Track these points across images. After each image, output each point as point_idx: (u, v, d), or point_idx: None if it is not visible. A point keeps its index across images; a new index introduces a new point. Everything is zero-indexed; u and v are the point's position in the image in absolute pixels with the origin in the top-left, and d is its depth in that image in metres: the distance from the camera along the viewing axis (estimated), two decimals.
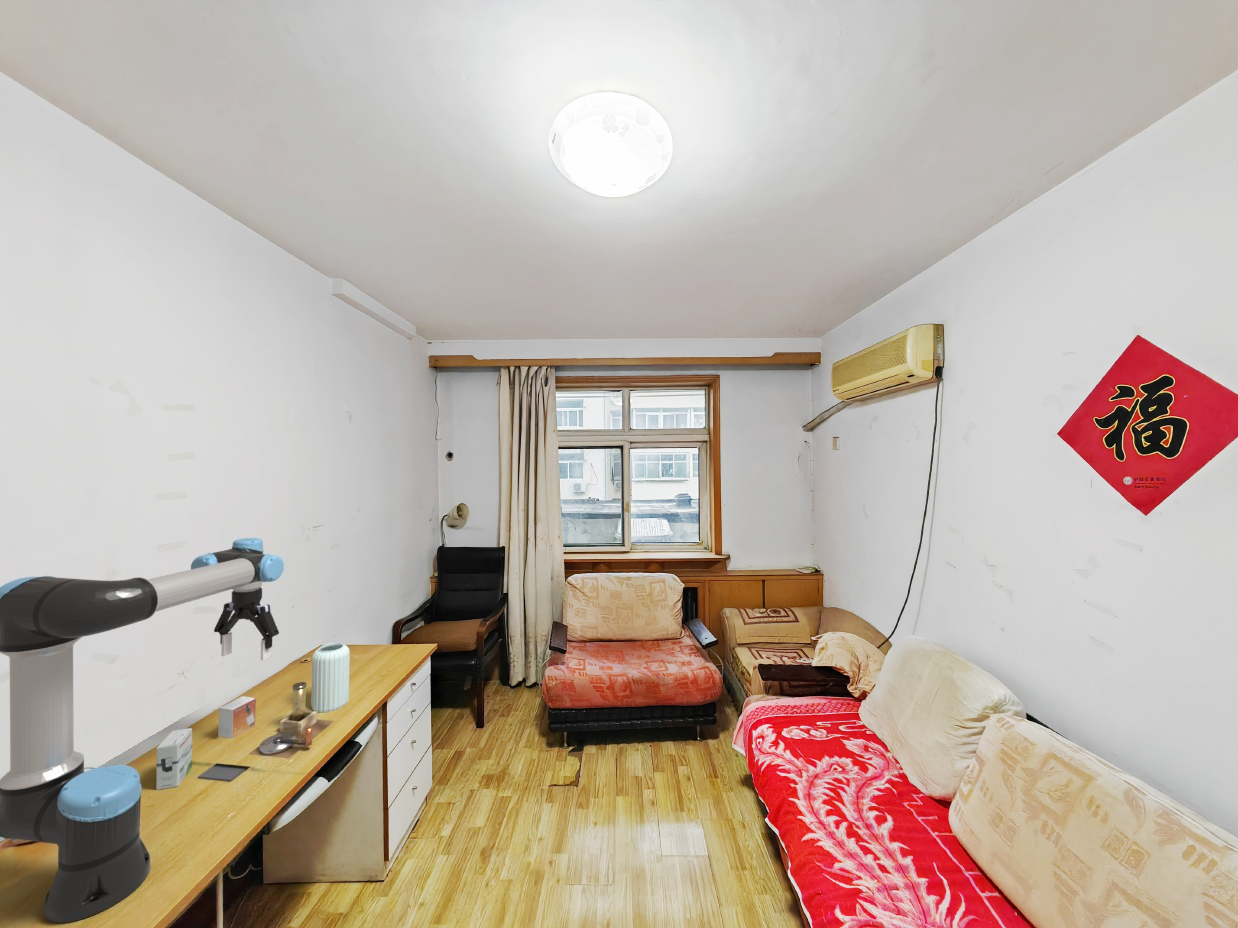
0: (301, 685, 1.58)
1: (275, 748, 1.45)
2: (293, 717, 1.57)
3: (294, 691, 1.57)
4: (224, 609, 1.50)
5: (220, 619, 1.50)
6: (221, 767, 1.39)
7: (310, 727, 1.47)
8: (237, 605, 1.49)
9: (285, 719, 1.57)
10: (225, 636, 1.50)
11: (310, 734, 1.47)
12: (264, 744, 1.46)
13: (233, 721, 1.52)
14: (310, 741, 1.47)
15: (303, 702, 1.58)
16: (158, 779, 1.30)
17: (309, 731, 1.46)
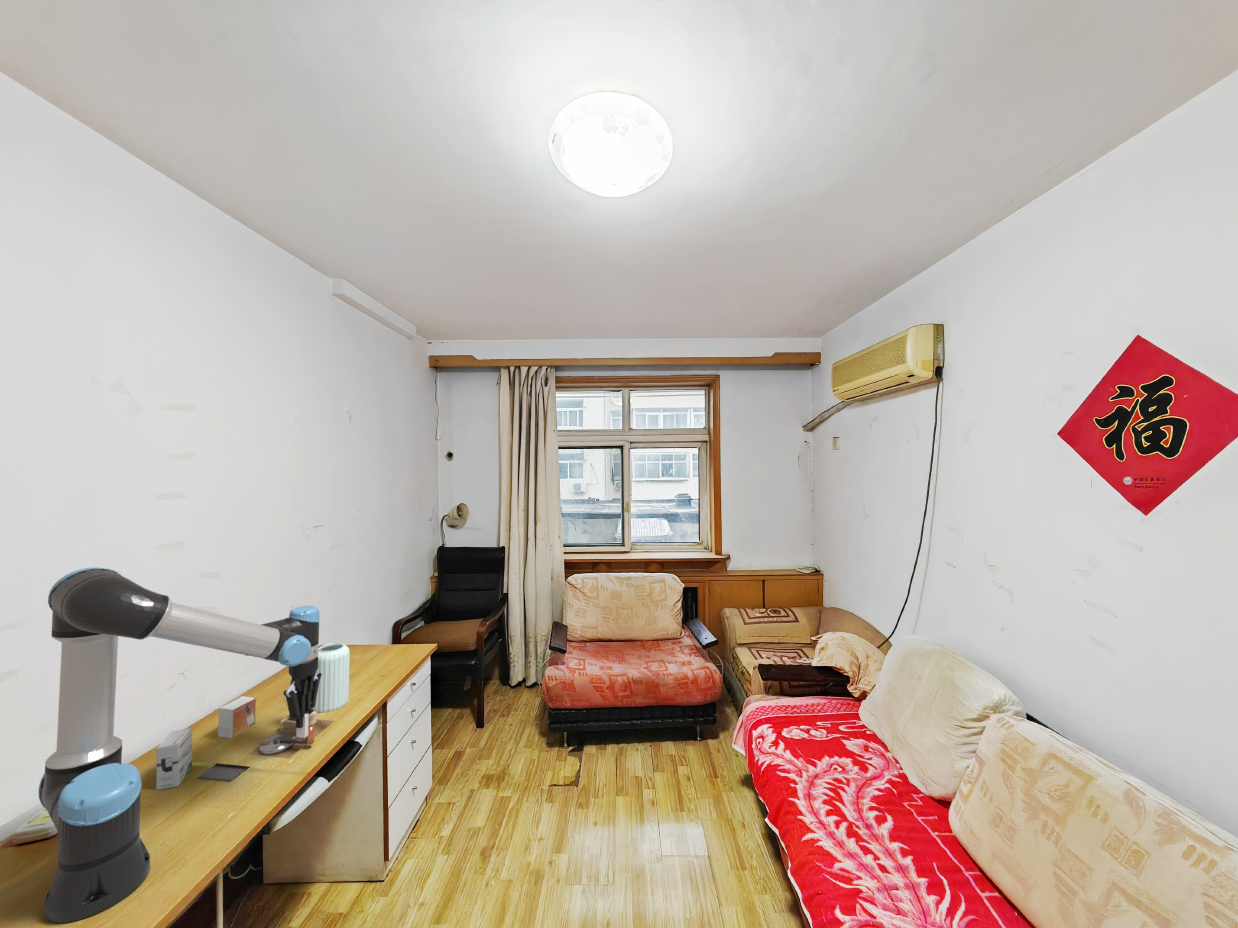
0: None
1: (276, 748, 1.45)
2: None
3: None
4: None
5: None
6: (221, 767, 1.39)
7: (312, 726, 1.48)
8: None
9: (285, 719, 1.57)
10: None
11: (312, 732, 1.47)
12: (264, 744, 1.46)
13: (233, 721, 1.52)
14: (312, 739, 1.48)
15: None
16: (158, 779, 1.30)
17: (311, 729, 1.47)
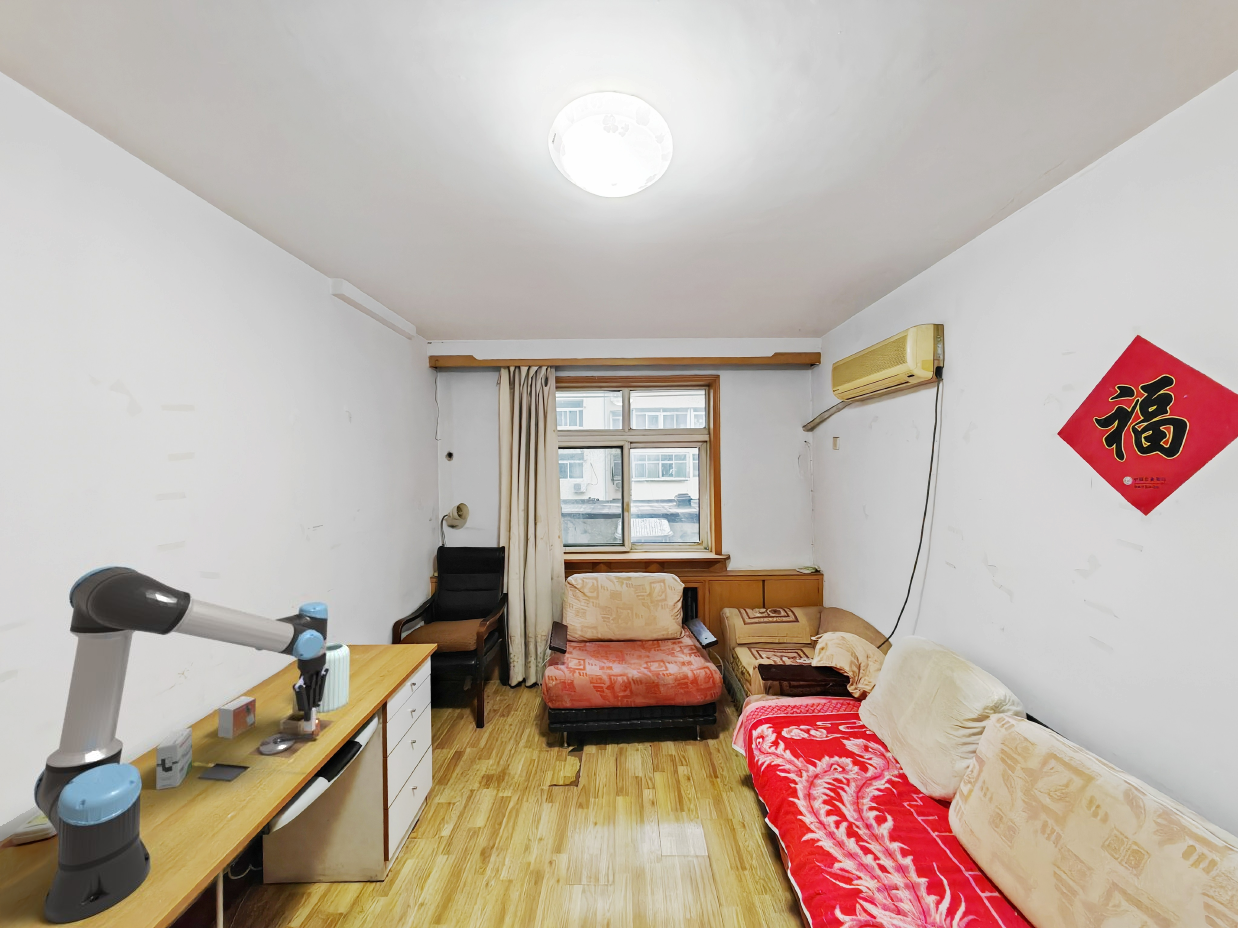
0: None
1: (282, 746, 1.46)
2: (293, 717, 1.57)
3: (294, 691, 1.57)
4: None
5: None
6: (221, 767, 1.39)
7: (317, 718, 1.52)
8: None
9: (285, 719, 1.57)
10: None
11: (318, 725, 1.52)
12: (265, 746, 1.45)
13: (233, 721, 1.52)
14: (318, 731, 1.52)
15: None
16: (158, 779, 1.30)
17: (318, 722, 1.51)
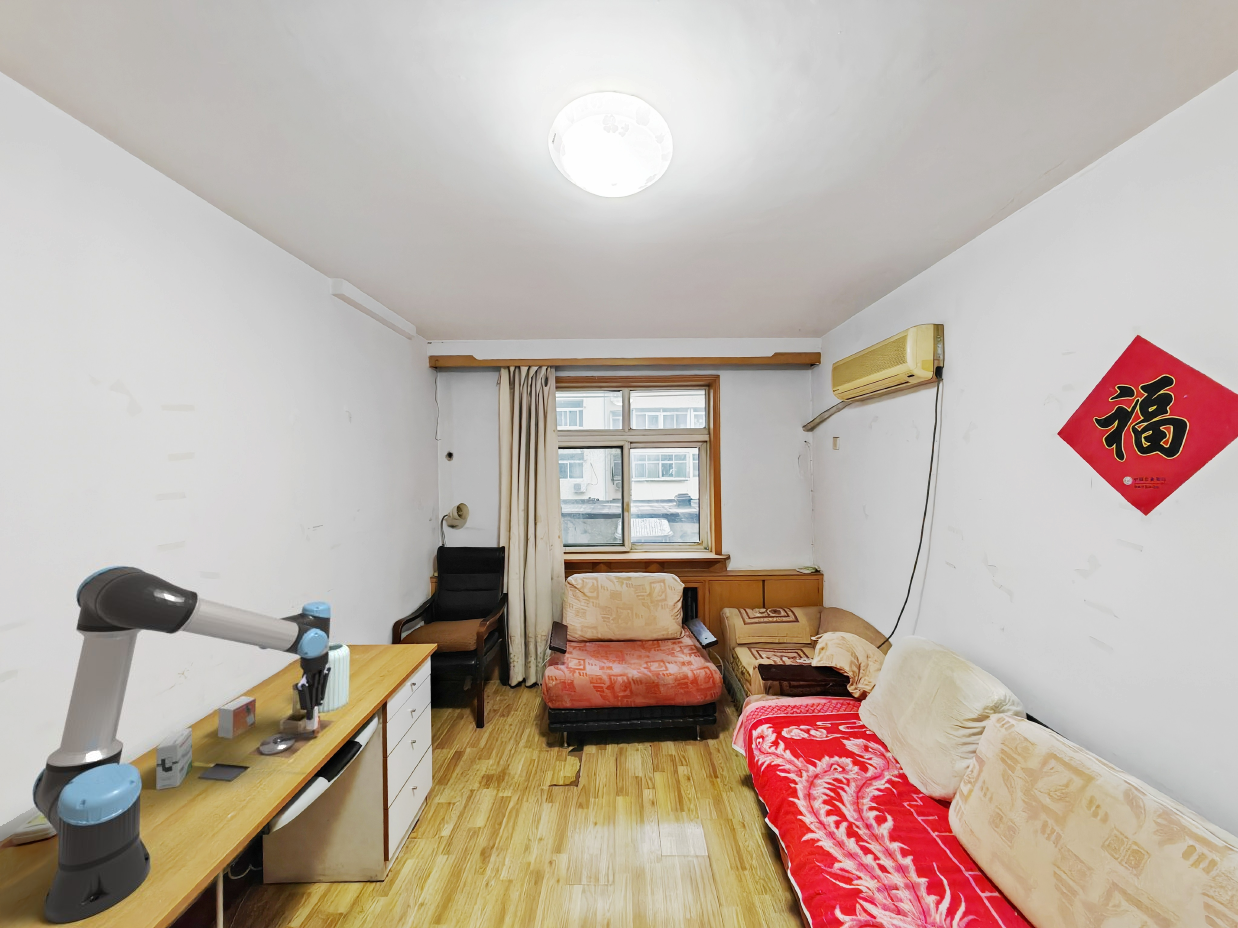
0: None
1: (284, 745, 1.46)
2: (293, 717, 1.57)
3: (294, 691, 1.57)
4: None
5: None
6: (221, 767, 1.39)
7: None
8: None
9: (285, 719, 1.57)
10: None
11: (319, 722, 1.53)
12: (266, 747, 1.45)
13: (233, 721, 1.52)
14: (319, 729, 1.53)
15: None
16: (158, 779, 1.30)
17: (319, 719, 1.53)
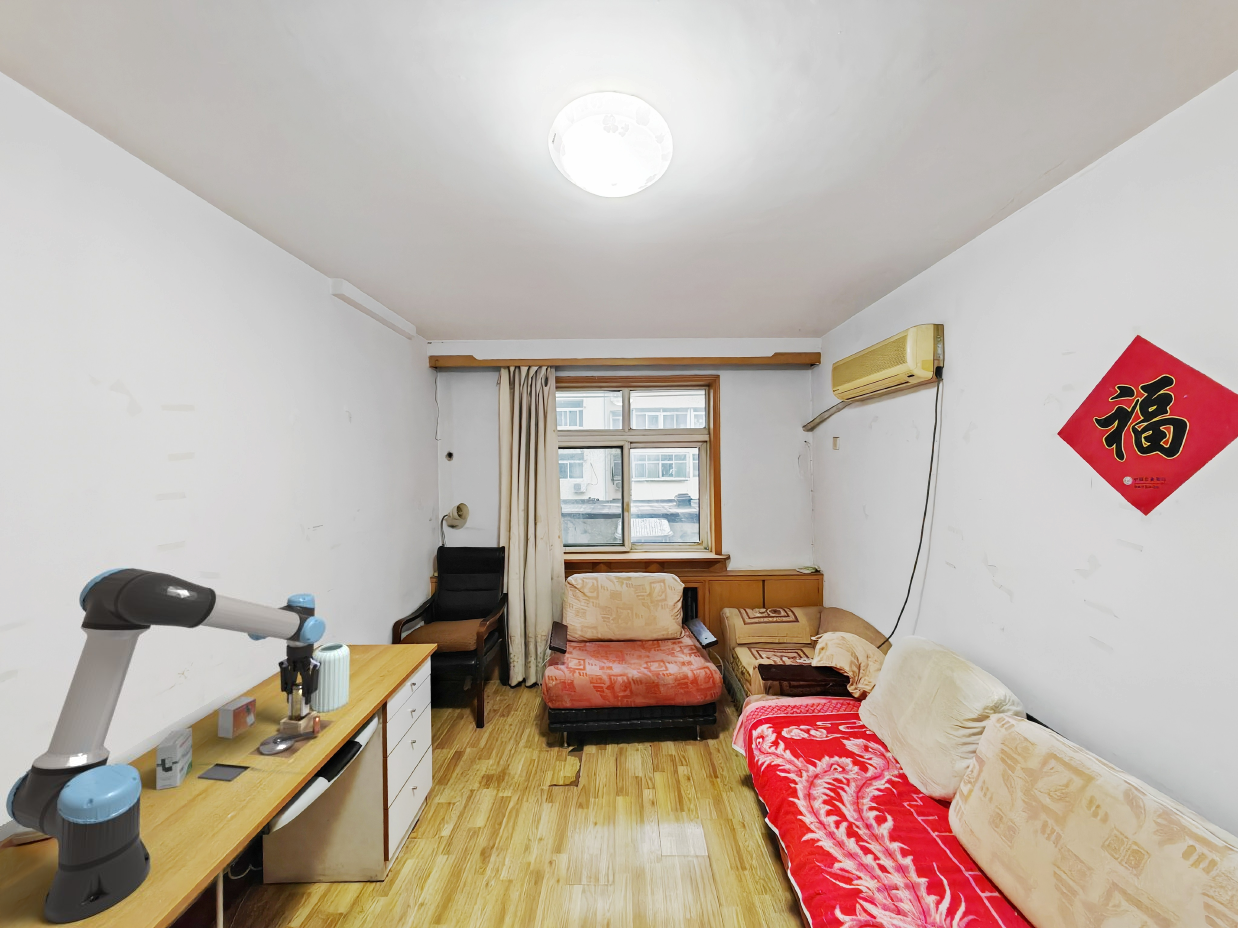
0: (301, 685, 1.58)
1: (284, 745, 1.46)
2: (293, 717, 1.57)
3: (294, 691, 1.57)
4: (280, 667, 1.57)
5: (281, 678, 1.58)
6: (221, 767, 1.39)
7: (317, 716, 1.53)
8: (290, 657, 1.57)
9: (285, 719, 1.57)
10: (292, 695, 1.58)
11: (319, 722, 1.53)
12: (266, 747, 1.45)
13: (233, 721, 1.52)
14: (319, 729, 1.53)
15: None
16: (158, 779, 1.30)
17: (319, 719, 1.53)
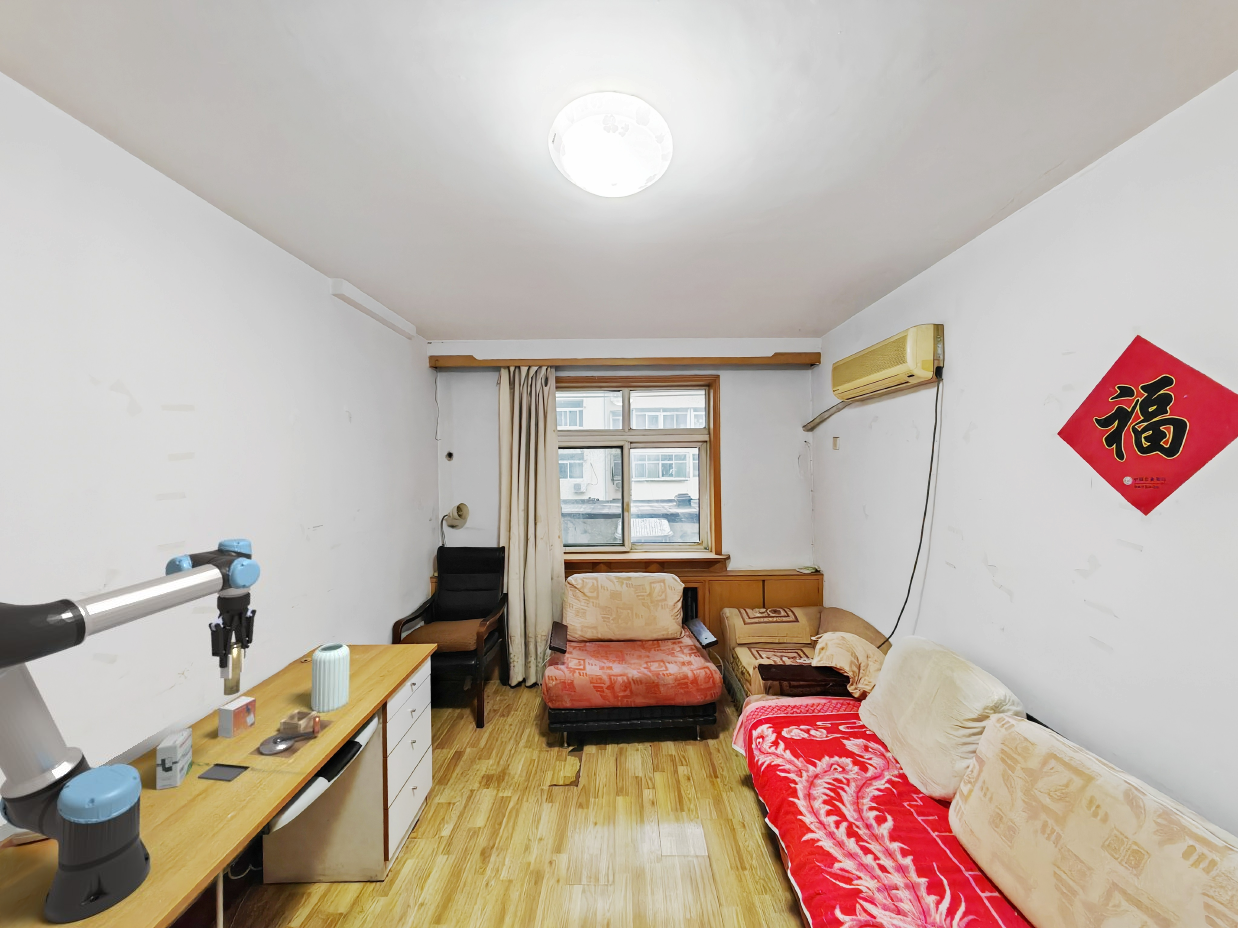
0: None
1: (284, 745, 1.46)
2: None
3: None
4: None
5: None
6: (221, 767, 1.39)
7: (317, 716, 1.53)
8: None
9: (285, 719, 1.57)
10: None
11: (319, 722, 1.53)
12: (266, 747, 1.45)
13: (233, 721, 1.52)
14: (319, 729, 1.53)
15: None
16: (158, 779, 1.30)
17: (319, 719, 1.53)
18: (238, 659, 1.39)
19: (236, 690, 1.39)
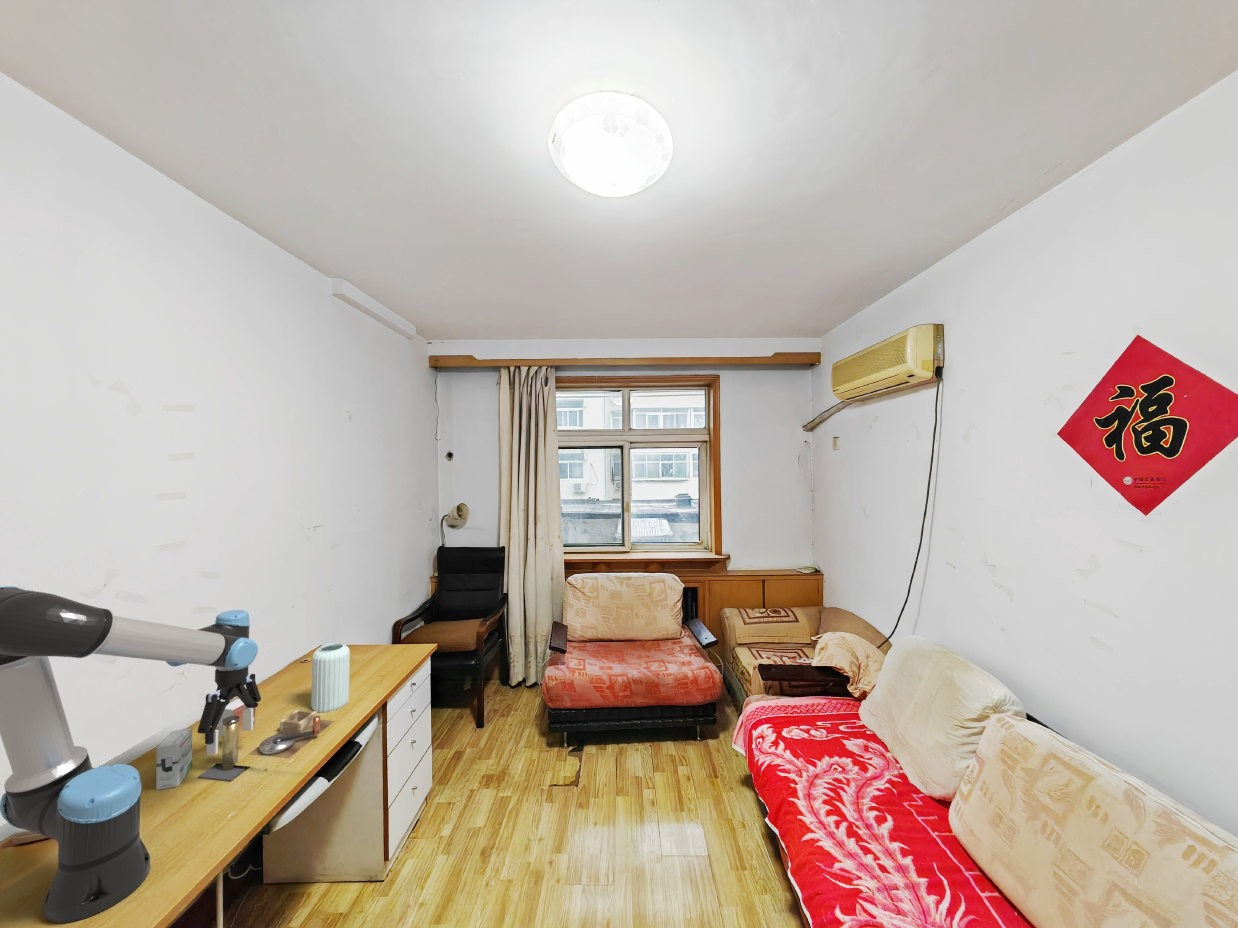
0: (226, 720, 1.38)
1: (284, 745, 1.46)
2: None
3: None
4: None
5: None
6: (221, 767, 1.39)
7: (317, 716, 1.53)
8: None
9: (285, 719, 1.57)
10: (244, 710, 1.45)
11: (319, 722, 1.53)
12: (266, 747, 1.45)
13: None
14: (319, 729, 1.53)
15: (224, 741, 1.38)
16: (158, 779, 1.30)
17: (319, 719, 1.53)
18: (236, 734, 1.39)
19: (234, 765, 1.39)
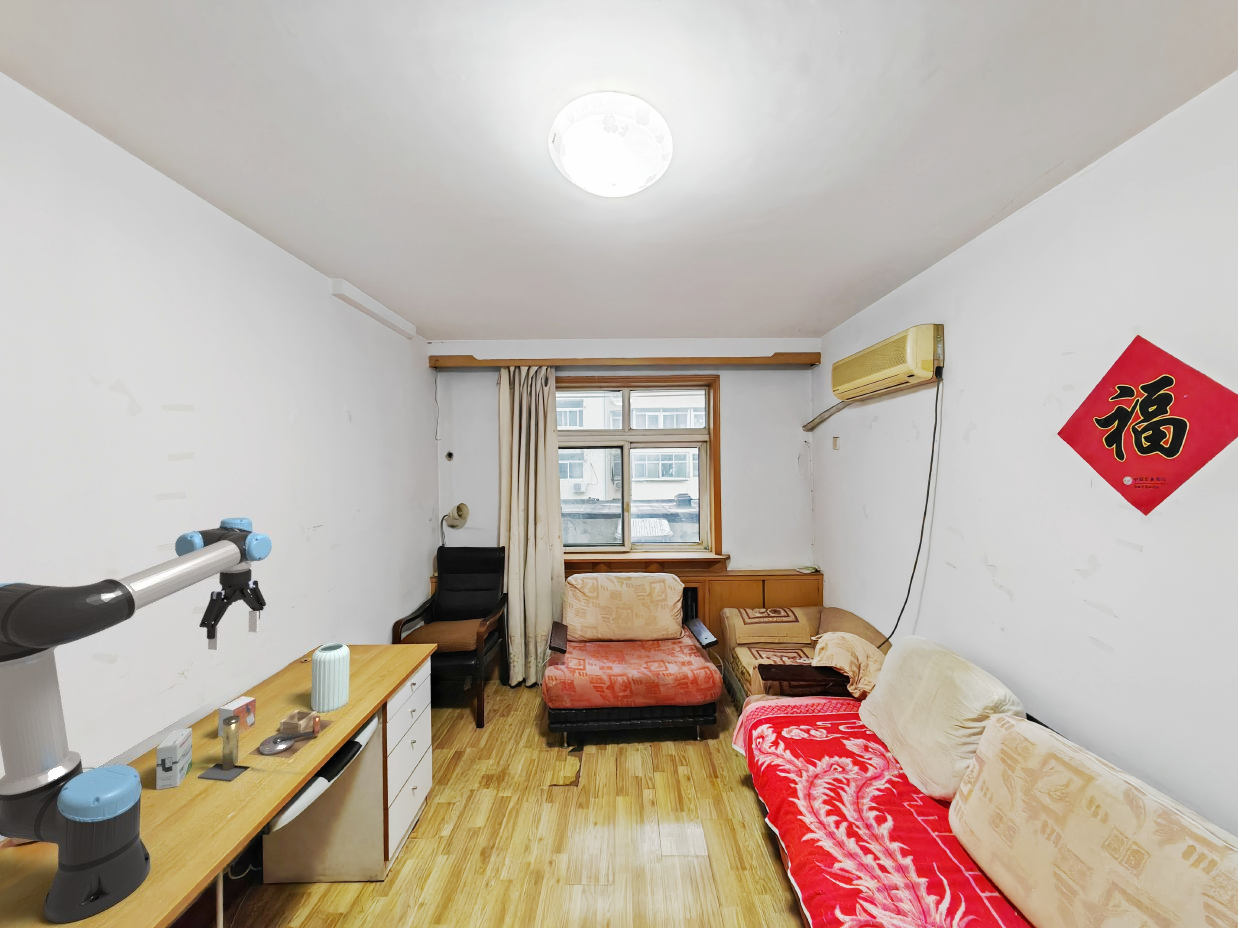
0: (227, 720, 1.38)
1: (284, 745, 1.46)
2: None
3: None
4: None
5: None
6: (221, 767, 1.39)
7: (317, 716, 1.53)
8: None
9: (285, 719, 1.57)
10: (250, 612, 1.52)
11: (319, 722, 1.53)
12: (266, 747, 1.45)
13: None
14: (319, 729, 1.53)
15: (224, 741, 1.38)
16: (158, 779, 1.30)
17: (319, 719, 1.53)
18: (236, 734, 1.39)
19: (234, 765, 1.39)
